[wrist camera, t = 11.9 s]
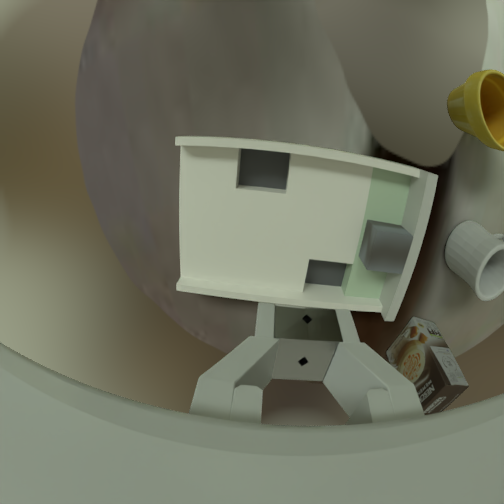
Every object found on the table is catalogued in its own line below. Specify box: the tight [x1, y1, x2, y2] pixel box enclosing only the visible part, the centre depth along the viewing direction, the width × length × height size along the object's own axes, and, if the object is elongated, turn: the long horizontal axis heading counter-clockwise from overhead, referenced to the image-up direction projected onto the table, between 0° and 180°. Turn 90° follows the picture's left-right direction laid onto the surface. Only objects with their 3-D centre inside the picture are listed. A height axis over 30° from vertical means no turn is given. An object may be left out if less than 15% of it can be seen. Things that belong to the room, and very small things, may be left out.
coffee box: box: [386, 317, 469, 415], centre depth 36 cm, size 9×6×16 cm
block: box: [359, 219, 414, 274], centre depth 31 cm, size 5×5×4 cm
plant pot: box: [447, 70, 504, 151], centre depth 22 cm, size 10×10×10 cm
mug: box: [445, 221, 504, 301], centre depth 30 cm, size 12×9×10 cm
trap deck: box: [175, 136, 438, 321], centre depth 33 cm, size 20×30×7 cm, turn 85°
